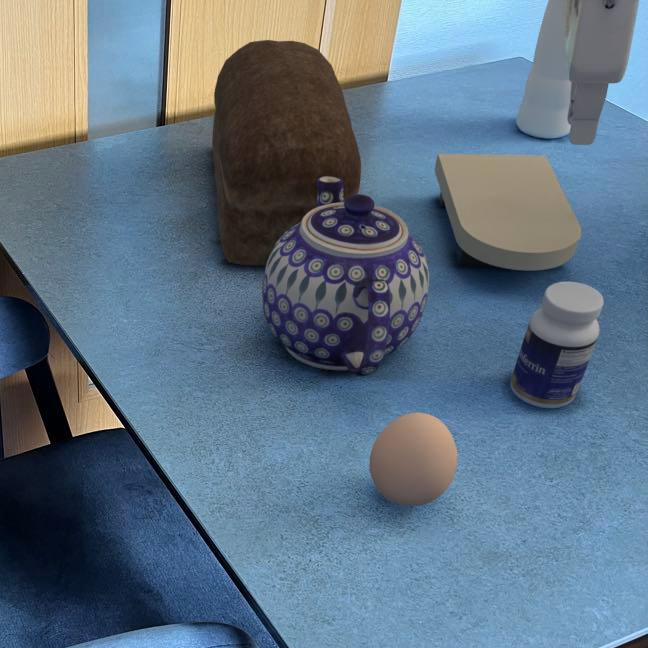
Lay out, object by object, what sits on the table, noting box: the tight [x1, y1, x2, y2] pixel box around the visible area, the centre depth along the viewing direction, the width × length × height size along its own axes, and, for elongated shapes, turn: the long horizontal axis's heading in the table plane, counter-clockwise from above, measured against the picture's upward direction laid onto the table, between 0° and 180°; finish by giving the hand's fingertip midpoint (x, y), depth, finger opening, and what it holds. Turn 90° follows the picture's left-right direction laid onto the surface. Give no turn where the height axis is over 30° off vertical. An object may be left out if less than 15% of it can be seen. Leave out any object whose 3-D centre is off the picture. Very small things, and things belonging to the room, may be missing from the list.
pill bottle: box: [510, 281, 604, 409], centre depth 90 cm, size 6×6×10 cm
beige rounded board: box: [434, 153, 582, 272], centre depth 110 cm, size 22×12×5 cm, turn 175°
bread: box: [211, 39, 362, 267], centre depth 114 cm, size 15×32×16 cm, turn 178°
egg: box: [368, 412, 458, 507], centre depth 81 cm, size 7×7×8 cm
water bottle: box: [515, 0, 571, 139], centre depth 124 cm, size 7×7×25 cm
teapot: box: [261, 176, 430, 377], centre depth 94 cm, size 25×15×15 cm, turn 179°
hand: (579, 133), depth 81 cm, fingers open, 8 cm apart
